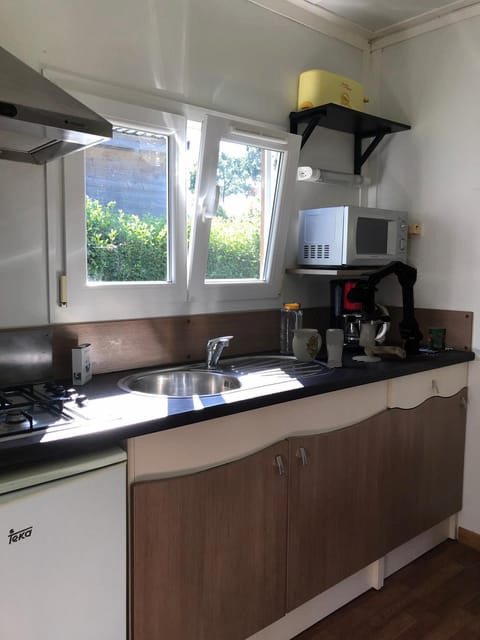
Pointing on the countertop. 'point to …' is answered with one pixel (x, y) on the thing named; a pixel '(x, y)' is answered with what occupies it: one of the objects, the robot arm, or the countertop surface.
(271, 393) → the countertop surface
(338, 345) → the beer glass
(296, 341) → the pitcher
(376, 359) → the grey trivet
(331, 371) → the countertop surface
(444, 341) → the canned tomato
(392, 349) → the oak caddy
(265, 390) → the countertop surface
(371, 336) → the cream jug
